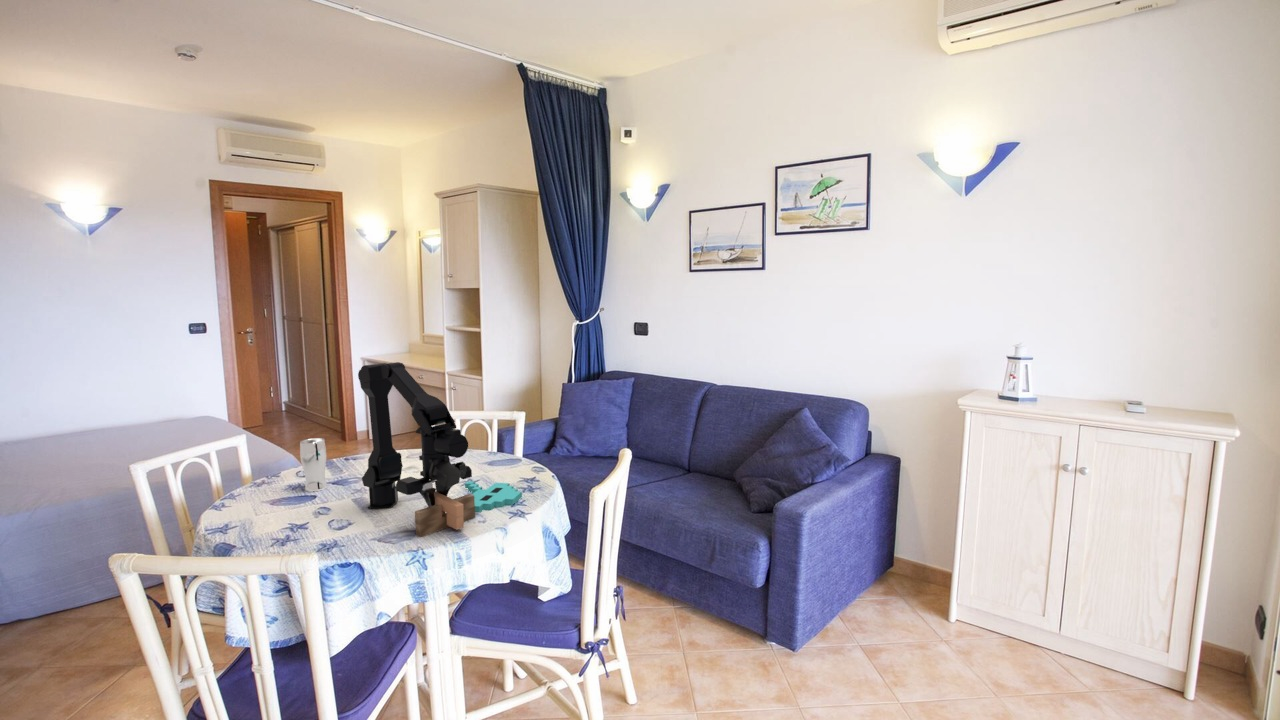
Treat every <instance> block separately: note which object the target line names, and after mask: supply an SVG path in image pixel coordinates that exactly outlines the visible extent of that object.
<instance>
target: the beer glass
mask: <svg viewBox="0 0 1280 720" xmlns="http://www.w3.org/2000/svg"><path fill="white" fill-rule="evenodd" d="M325 442H326V441H325V438H324V437H323V438H322V437H314V438H307V439H302V440H301V441H299V443H300V444H299V456H300V461H301V466H302V470H303V475H304V479H305V484H304V491H305V492H307V491H308V493H314V492H313V491H316V492H320V491H323V490H326V489H327V488H328V484H327V481H326V468H327V467H326V466H327V465H326V464H327V448H326V443H325Z"/></svg>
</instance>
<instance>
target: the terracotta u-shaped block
mask: <svg viewBox="0 0 1280 720" xmlns="http://www.w3.org/2000/svg"><path fill="white" fill-rule="evenodd" d="M453 499H454V498H451V497H450V496H448V495H447V496H445V495H443V494H441V493H438V492H436V491H435V493H434V500H435V505H440V506H442V514H445V513H447V525H448V526H450V527H449V528H452V529H454V530H457V531H458V530H460V529H462V528H464V527H465V526H464V523H465V521H464V519H463V504H462V503H460V502H458V501H456V500H453Z"/></svg>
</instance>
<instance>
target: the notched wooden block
mask: <svg viewBox="0 0 1280 720" xmlns="http://www.w3.org/2000/svg"><path fill="white" fill-rule="evenodd" d="M452 499H453V500H456V501H458V502H460V503H462V504H463V519H464V522H467V521H470V520H473V519H475V518H476V512H475V500H474V495H472V493H468V494H466V495H465V494H464V495H461V496H458V497H457V498H456V497H455V498H452ZM414 520H415V521H414V524H415V535H416V536H417V537H420V538H422V537H424V536H427V535H430V534H433V533H436V532H438V531H441V530H444V529H447V528H451V527H450V526H448V525H447V513H446V512H445V514H442V506H440V505H433V506H430V507H428V506H426V507H424V508H421V509H418V510H415V511H414Z"/></svg>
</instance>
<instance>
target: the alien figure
mask: <svg viewBox="0 0 1280 720" xmlns="http://www.w3.org/2000/svg"><path fill="white" fill-rule="evenodd" d="M465 488H468V489H467V490H468V492H469V491H472V492H471V495H474V500H475V513H476V512H480V513H481V512H482V510H483V511H492V510H493V509H495V508H496V507H503V506H504V505H505V506H514V505H515V504H517V503H518V502H519V501H520V500H521V499H522V498H523V491H521V490H520V491H519V490H518V488H514V485H510V483H509V482H495V483H493V484H492V485H490V486H489V487H488V488H486V489H483V486H480V484H478V483H476V481H473V480H469V481H468V480H467V482H465V483H464V489H465ZM521 497H522V498H521ZM520 498H521V499H520ZM519 499H520V500H519ZM518 500H519V501H518ZM517 501H518V502H517ZM514 503H515V504H514ZM513 504H514V505H513ZM505 506H504V507H505ZM504 507H503V508H504Z"/></svg>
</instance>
